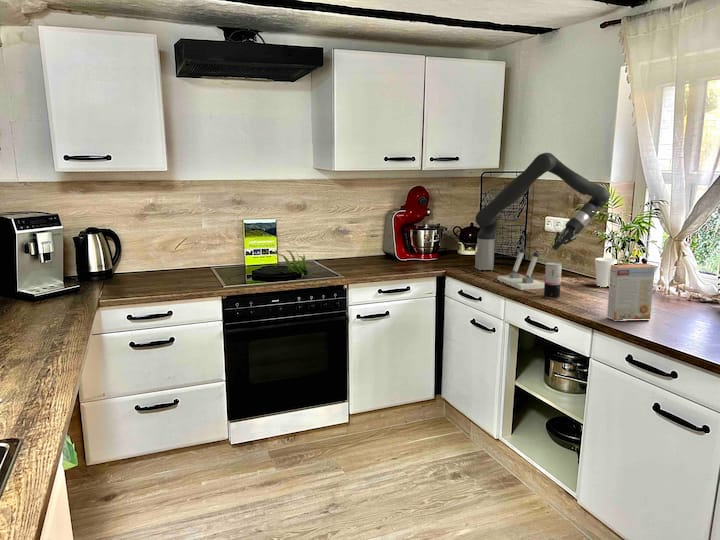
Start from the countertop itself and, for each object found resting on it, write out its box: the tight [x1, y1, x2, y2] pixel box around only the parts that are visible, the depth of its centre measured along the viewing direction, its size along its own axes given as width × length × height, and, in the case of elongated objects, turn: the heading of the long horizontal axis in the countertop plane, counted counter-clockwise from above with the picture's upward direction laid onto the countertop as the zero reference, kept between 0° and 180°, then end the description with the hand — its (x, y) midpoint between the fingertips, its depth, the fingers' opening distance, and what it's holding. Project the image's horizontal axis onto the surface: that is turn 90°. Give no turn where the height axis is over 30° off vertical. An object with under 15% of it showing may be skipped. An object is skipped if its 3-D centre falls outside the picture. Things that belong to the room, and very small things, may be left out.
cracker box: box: [606, 263, 655, 320], centre depth 203 cm, size 14×6×21 cm, turn 92°
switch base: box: [496, 272, 545, 291], centre depth 265 cm, size 13×22×4 cm, turn 15°
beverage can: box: [543, 261, 562, 300], centre depth 238 cm, size 7×7×15 cm
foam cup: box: [594, 257, 618, 288], centre depth 257 cm, size 10×9×13 cm
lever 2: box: [524, 251, 540, 278], centre depth 258 cm, size 3×3×13 cm
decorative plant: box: [272, 248, 308, 276], centre depth 293 cm, size 18×30×15 cm, turn 13°
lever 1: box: [511, 247, 526, 273], centre depth 269 cm, size 3×3×13 cm
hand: (554, 248), depth 259 cm, fingers closed
